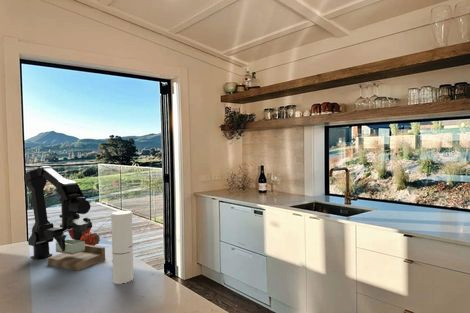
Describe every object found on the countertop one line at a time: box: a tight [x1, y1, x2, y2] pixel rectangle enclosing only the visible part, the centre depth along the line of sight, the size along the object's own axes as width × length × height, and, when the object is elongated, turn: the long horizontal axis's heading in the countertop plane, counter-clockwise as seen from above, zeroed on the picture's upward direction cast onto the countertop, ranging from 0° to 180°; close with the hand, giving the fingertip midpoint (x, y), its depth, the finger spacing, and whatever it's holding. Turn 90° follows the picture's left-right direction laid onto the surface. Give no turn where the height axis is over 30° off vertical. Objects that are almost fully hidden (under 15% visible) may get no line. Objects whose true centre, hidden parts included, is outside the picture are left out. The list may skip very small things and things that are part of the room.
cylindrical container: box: [110, 210, 134, 285], centre depth 117 cm, size 7×7×25 cm
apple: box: [67, 228, 92, 239], centre depth 168 cm, size 11×11×12 cm
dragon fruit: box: [80, 231, 101, 246], centre depth 157 cm, size 8×8×12 cm
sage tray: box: [55, 238, 85, 255], centre depth 135 cm, size 10×6×4 cm, turn 66°
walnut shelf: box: [47, 244, 106, 272], centre depth 138 cm, size 18×14×6 cm
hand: (70, 248), depth 135 cm, fingers closed on sage tray, 6 cm apart
